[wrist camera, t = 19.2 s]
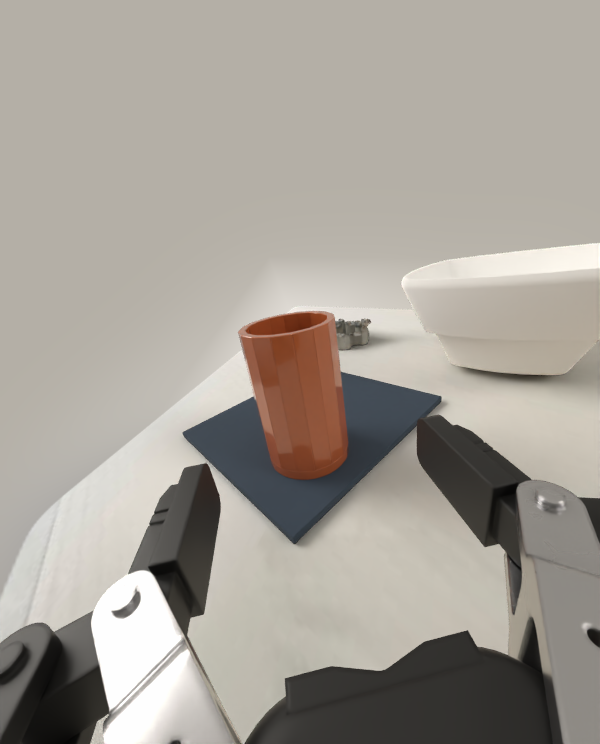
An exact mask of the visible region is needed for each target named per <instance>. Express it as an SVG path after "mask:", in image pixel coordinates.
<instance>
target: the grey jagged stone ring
mask: <svg viewBox="0 0 600 744" xmlns="http://www.w3.org/2000/svg"><path fill="white" fill-rule="evenodd" d="M370 323H371V321H370V320H369V319H362V320H361V322H360V321H355V322H354V321H347V322H345V321H344V320H343V319H339V321H335V325H336V334H337V343H338V350H341V349H343V350H347V349H350V348H351V346H353V345H358V344H360V345H364V344H367V341H368V338H369V331H368V328H367V326H368V324H370Z"/></svg>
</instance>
